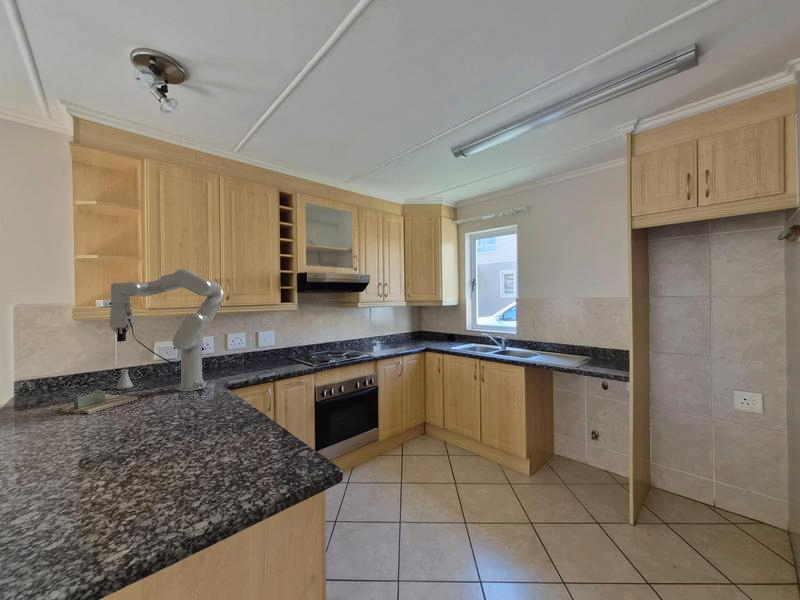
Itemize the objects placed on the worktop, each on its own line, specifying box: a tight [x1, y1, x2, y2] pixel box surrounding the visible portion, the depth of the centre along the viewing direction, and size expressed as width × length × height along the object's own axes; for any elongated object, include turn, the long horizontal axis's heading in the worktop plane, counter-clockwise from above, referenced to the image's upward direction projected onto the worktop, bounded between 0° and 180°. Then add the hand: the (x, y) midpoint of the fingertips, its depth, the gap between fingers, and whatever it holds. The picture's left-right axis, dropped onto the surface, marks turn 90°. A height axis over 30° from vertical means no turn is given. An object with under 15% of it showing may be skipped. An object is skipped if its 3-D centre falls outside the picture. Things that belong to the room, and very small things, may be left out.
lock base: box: [55, 394, 139, 415], centre depth 149 cm, size 20×20×2 cm
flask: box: [115, 368, 134, 390], centre depth 180 cm, size 7×7×10 cm
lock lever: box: [73, 389, 106, 409], centre depth 146 cm, size 13×5×5 cm, turn 176°
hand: (121, 341), depth 170 cm, fingers closed
